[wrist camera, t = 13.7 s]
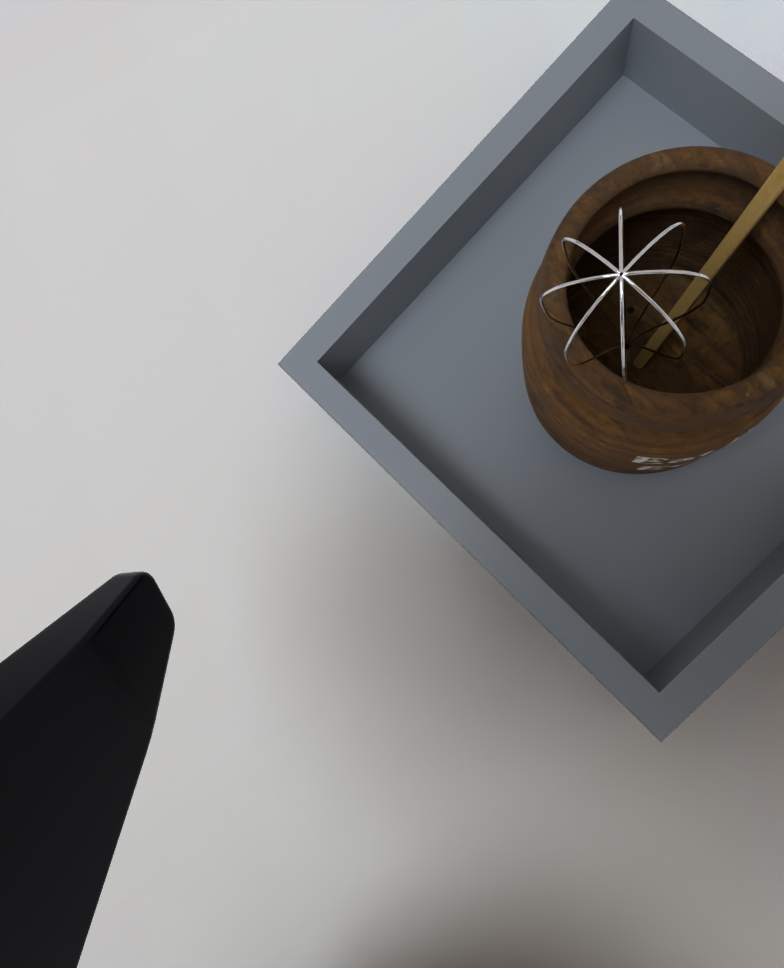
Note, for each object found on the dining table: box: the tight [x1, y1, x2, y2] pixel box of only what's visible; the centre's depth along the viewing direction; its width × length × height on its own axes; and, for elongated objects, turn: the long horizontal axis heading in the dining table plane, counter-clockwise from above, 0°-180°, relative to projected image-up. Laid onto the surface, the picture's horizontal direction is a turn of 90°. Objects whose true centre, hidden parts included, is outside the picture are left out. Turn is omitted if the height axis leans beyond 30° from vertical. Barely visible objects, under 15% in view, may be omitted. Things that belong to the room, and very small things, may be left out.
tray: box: [278, 0, 784, 742], centre depth 18 cm, size 14×14×3 cm
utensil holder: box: [521, 146, 784, 474], centre depth 13 cm, size 6×6×12 cm
